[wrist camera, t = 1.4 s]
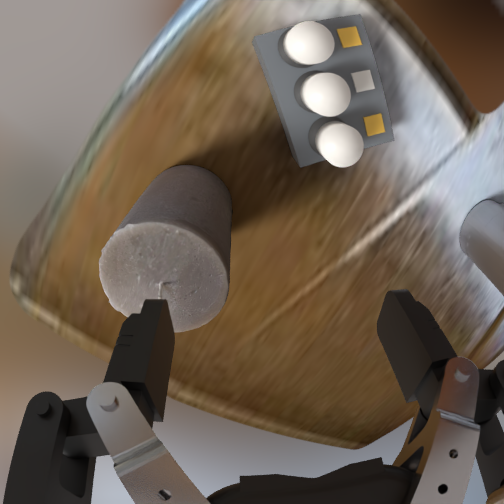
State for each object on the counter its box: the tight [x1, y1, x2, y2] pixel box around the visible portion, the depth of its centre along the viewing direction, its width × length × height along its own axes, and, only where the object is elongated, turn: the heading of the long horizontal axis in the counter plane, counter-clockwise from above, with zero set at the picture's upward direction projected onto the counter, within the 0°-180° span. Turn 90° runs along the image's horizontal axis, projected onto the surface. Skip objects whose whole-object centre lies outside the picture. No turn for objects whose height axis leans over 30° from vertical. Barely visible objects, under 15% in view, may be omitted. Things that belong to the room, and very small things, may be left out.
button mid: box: [300, 73, 351, 117], centre depth 21 cm, size 3×3×2 cm
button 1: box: [315, 121, 364, 167], centre depth 23 cm, size 3×3×2 cm
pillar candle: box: [99, 165, 233, 332], centre depth 26 cm, size 10×10×15 cm
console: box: [252, 14, 394, 168], centre depth 25 cm, size 10×12×4 cm
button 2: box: [283, 21, 335, 65], centre depth 19 cm, size 3×3×2 cm
